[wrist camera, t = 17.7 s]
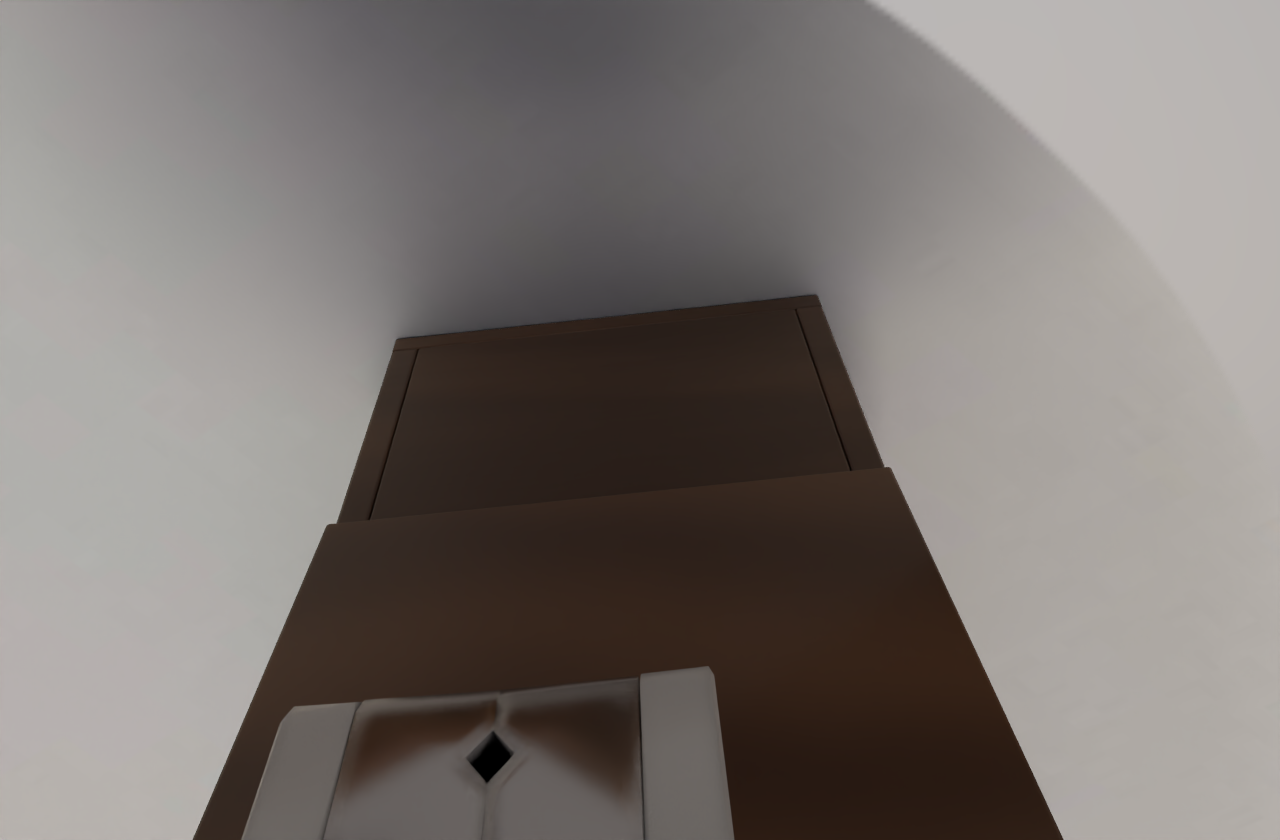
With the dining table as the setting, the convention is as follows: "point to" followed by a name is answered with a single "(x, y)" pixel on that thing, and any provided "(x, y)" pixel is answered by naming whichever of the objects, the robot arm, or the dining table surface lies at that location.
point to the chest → (609, 410)
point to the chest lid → (680, 645)
